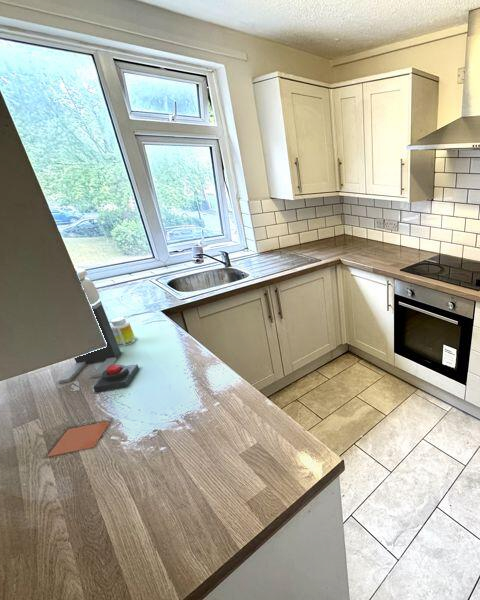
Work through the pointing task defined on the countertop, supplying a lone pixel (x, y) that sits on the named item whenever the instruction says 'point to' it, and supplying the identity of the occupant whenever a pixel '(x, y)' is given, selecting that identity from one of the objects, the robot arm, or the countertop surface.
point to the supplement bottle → (122, 331)
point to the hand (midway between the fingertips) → (62, 321)
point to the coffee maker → (105, 354)
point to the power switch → (116, 378)
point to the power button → (113, 369)
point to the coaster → (79, 438)
